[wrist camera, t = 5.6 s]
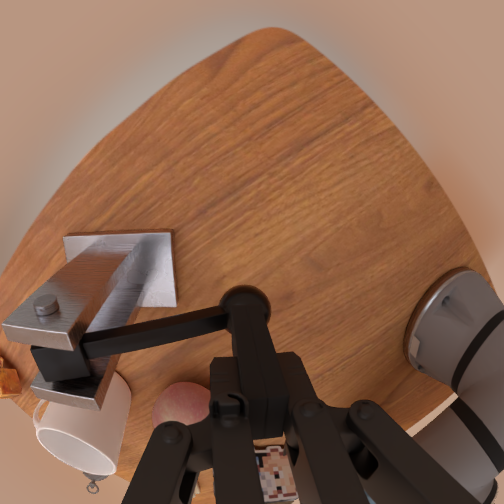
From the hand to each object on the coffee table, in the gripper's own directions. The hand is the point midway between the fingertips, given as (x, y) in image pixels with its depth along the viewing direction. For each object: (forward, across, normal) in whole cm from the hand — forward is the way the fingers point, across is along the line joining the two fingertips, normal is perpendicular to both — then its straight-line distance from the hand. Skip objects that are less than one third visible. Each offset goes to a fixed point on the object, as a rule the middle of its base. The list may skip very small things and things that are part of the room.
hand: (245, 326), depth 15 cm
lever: (+1, -5, 0) cm, 6 cm away
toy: (+9, +3, -29) cm, 31 cm away
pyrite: (+10, -32, -15) cm, 36 cm away
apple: (+10, -5, -15) cm, 19 cm away
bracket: (+10, -10, 0) cm, 14 cm away
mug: (+10, -18, -15) cm, 25 cm away
